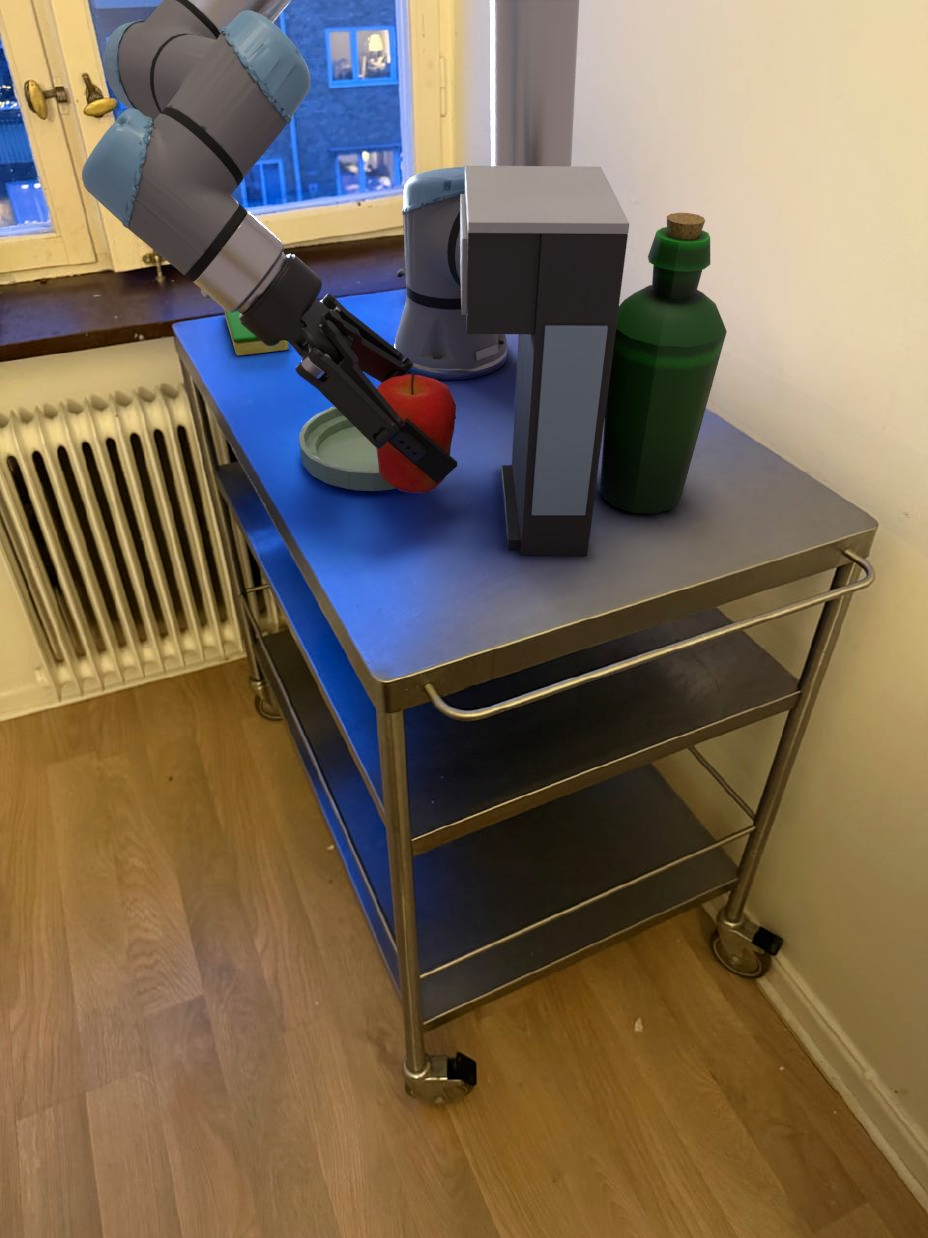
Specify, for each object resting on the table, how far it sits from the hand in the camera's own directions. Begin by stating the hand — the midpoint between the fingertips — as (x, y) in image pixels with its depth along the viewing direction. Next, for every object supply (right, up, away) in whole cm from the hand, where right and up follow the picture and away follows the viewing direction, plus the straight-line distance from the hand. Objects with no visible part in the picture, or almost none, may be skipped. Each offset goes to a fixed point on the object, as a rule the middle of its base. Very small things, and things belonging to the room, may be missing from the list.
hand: (446, 447), depth 87 cm
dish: (-8, +1, +12) cm, 15 cm away
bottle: (+20, -4, +7) cm, 22 cm away
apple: (-3, -3, +3) cm, 5 cm away
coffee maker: (+7, -6, +5) cm, 10 cm away
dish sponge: (-28, +23, +38) cm, 53 cm away
